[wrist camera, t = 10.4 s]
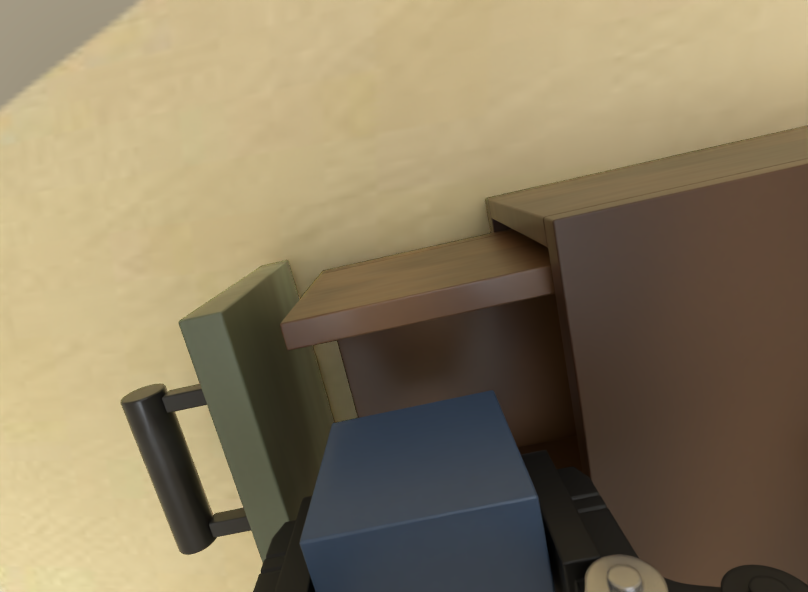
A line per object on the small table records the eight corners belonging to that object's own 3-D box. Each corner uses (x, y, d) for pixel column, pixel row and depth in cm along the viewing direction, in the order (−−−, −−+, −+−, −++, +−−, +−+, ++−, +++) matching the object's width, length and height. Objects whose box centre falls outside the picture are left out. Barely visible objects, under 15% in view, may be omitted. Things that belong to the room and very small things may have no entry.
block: (331, 422, 13) (297, 543, 9) (493, 389, 13) (538, 495, 9) (370, 557, 14) (356, 722, 10) (520, 527, 14) (572, 684, 10)
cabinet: (531, 458, 24) (615, 645, 14) (484, 198, 21) (552, 219, 11) (841, 397, 23) (1141, 551, 14) (840, 118, 20) (1223, 71, 11)
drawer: (244, 516, 23) (169, 681, 16) (163, 287, 21) (25, 354, 13) (616, 442, 22) (726, 579, 15) (584, 193, 20) (697, 206, 12)
